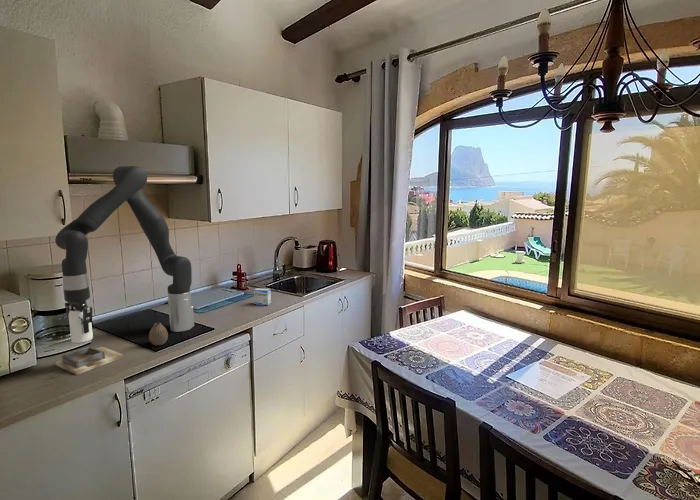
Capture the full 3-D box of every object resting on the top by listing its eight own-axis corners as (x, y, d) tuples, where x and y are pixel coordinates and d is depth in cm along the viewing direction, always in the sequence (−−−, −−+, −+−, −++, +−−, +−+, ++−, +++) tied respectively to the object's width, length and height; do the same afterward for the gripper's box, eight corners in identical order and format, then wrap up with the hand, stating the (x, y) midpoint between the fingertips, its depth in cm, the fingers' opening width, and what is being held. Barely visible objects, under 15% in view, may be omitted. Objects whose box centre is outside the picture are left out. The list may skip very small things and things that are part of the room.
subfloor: (102, 349, 156) (101, 340, 155) (122, 357, 149) (122, 348, 148) (56, 365, 142) (54, 355, 141) (76, 374, 135) (75, 364, 135)
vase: (172, 341, 164) (170, 321, 162) (159, 348, 157) (157, 327, 156) (159, 339, 166) (157, 319, 165) (145, 345, 160) (144, 325, 158)
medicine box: (254, 305, 213) (253, 289, 212) (257, 302, 218) (257, 287, 216) (268, 306, 212) (267, 290, 211) (271, 303, 216) (270, 288, 215)
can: (82, 344, 138) (79, 311, 136) (66, 343, 140) (63, 310, 138) (97, 337, 145) (94, 306, 143) (82, 336, 146) (78, 304, 144)
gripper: (98, 287, 139) (103, 332, 141) (77, 281, 146) (81, 325, 149) (75, 291, 132) (80, 339, 135) (53, 286, 139) (59, 331, 142)
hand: (80, 332), depth 142 cm, fingers closed on can, 5 cm apart
